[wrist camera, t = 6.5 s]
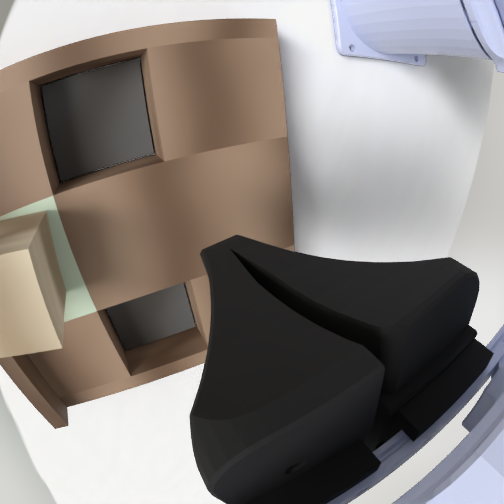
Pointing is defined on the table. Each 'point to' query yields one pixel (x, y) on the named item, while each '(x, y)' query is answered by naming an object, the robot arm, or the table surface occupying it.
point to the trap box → (142, 191)
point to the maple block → (29, 287)
